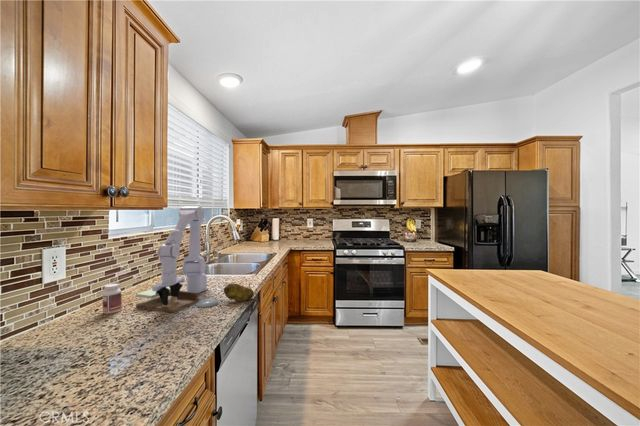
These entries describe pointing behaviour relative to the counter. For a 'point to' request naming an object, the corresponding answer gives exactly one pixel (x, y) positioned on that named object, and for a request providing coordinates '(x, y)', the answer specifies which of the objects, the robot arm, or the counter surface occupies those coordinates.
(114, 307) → the pill bottle
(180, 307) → the board
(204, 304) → the saucer
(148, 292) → the cover
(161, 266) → the robot arm
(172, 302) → the block
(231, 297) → the potato
